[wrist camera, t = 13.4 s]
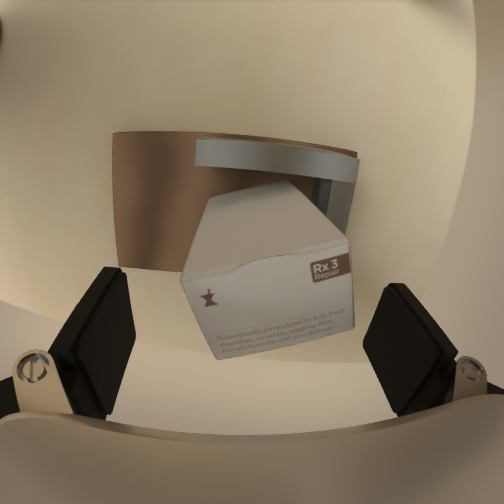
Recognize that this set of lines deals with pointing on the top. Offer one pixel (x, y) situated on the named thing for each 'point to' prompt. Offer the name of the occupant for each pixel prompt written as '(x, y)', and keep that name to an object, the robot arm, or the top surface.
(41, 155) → the top surface
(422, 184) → the top surface
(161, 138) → the u rest
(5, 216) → the top surface
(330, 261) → the skincare box
